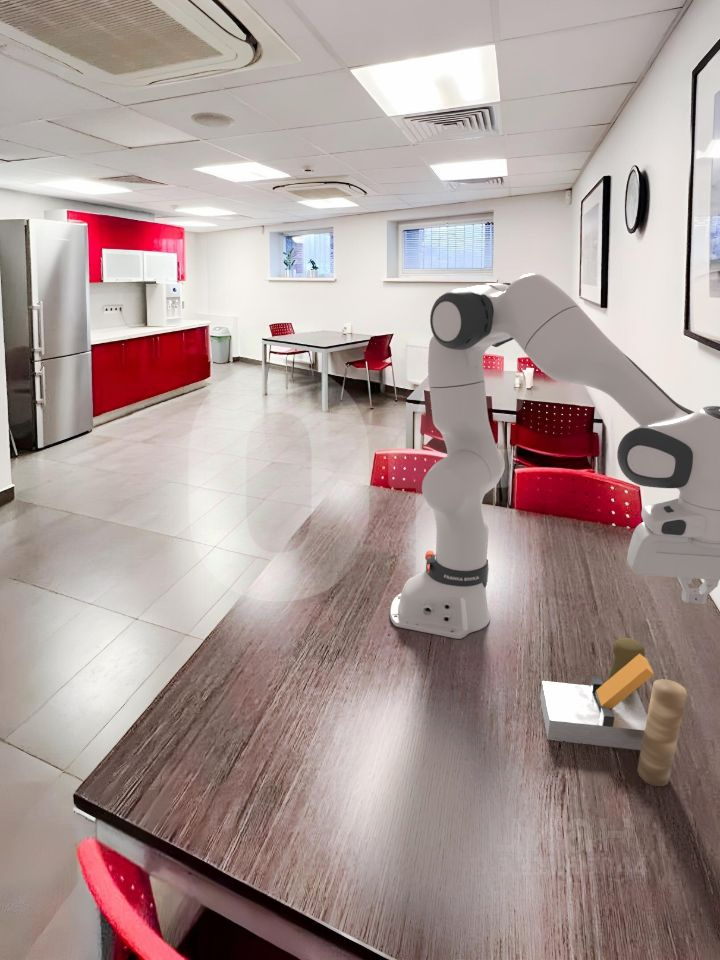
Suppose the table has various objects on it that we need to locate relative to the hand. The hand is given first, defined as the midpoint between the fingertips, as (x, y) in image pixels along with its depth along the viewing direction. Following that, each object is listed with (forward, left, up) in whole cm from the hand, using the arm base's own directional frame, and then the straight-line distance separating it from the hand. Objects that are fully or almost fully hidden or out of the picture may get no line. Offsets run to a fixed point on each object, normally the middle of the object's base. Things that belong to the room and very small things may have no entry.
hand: (692, 601), depth 90 cm
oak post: (-5, -10, -25) cm, 27 cm away
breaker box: (-12, 0, -25) cm, 28 cm away
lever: (-11, 0, -20) cm, 23 cm away
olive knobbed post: (-5, +9, -25) cm, 27 cm away
